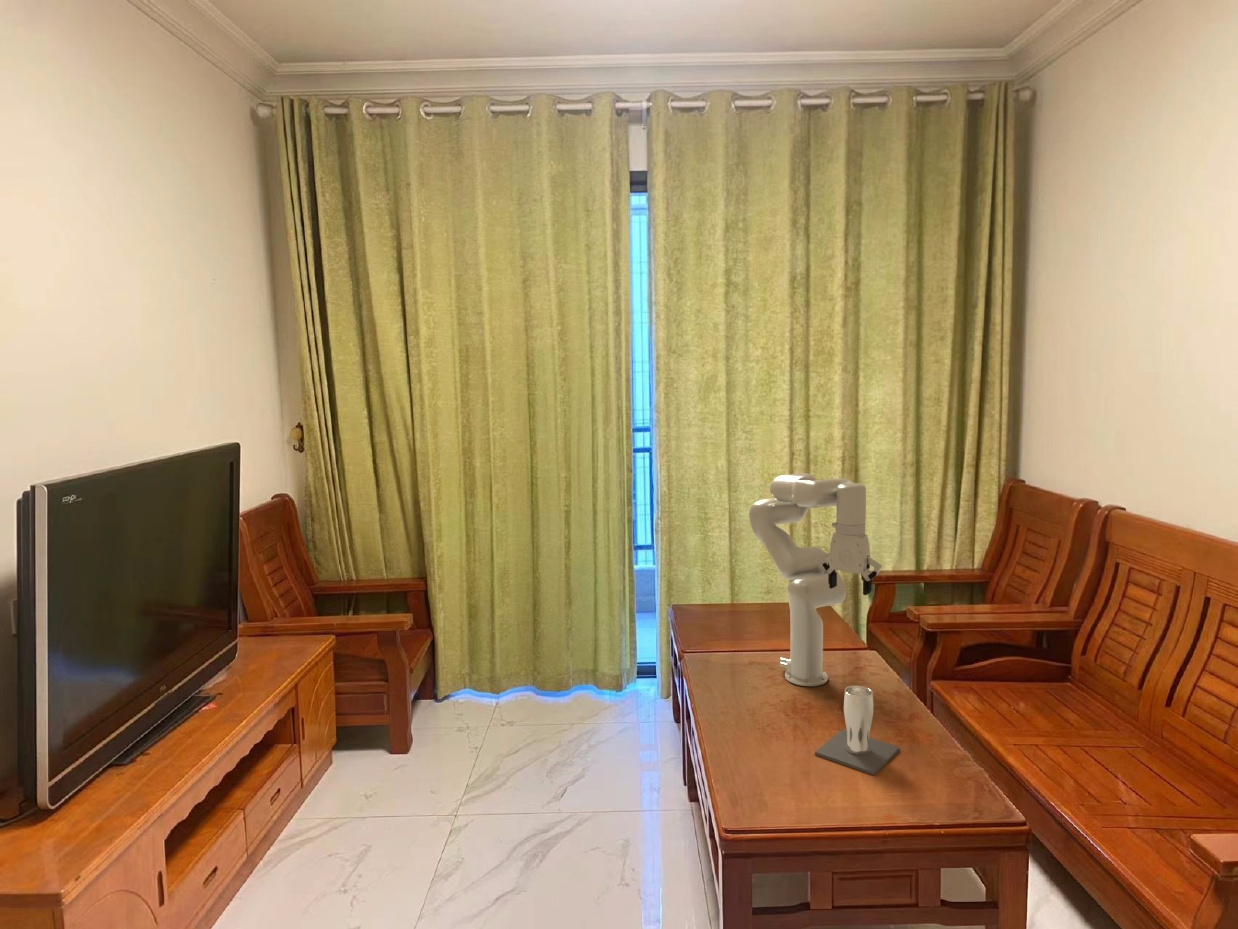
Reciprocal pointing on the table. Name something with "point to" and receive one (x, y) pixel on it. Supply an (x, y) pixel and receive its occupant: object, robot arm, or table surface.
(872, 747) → the charcoal mat
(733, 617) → the table surface
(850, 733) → the beer glass
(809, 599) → the robot arm
